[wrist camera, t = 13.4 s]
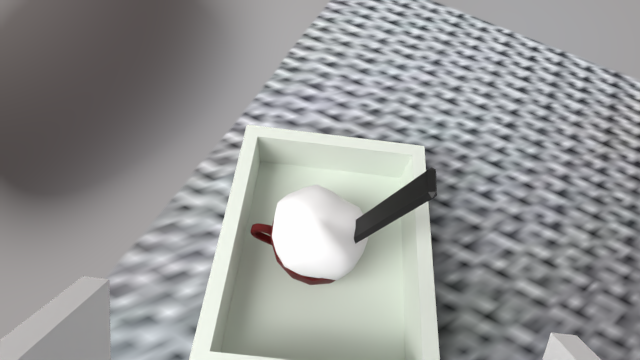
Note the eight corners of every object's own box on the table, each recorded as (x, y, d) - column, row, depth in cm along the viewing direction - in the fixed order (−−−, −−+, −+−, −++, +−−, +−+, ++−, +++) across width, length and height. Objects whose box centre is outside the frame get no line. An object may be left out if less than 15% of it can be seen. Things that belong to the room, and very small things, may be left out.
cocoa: (245, 258, 27) (204, 176, 16) (291, 194, 30) (280, 88, 19) (359, 327, 25) (396, 283, 14) (397, 251, 27) (450, 166, 17)
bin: (407, 175, 32) (424, 146, 29) (417, 395, 24) (442, 396, 20) (251, 156, 32) (247, 124, 28) (202, 373, 23) (186, 369, 20)
